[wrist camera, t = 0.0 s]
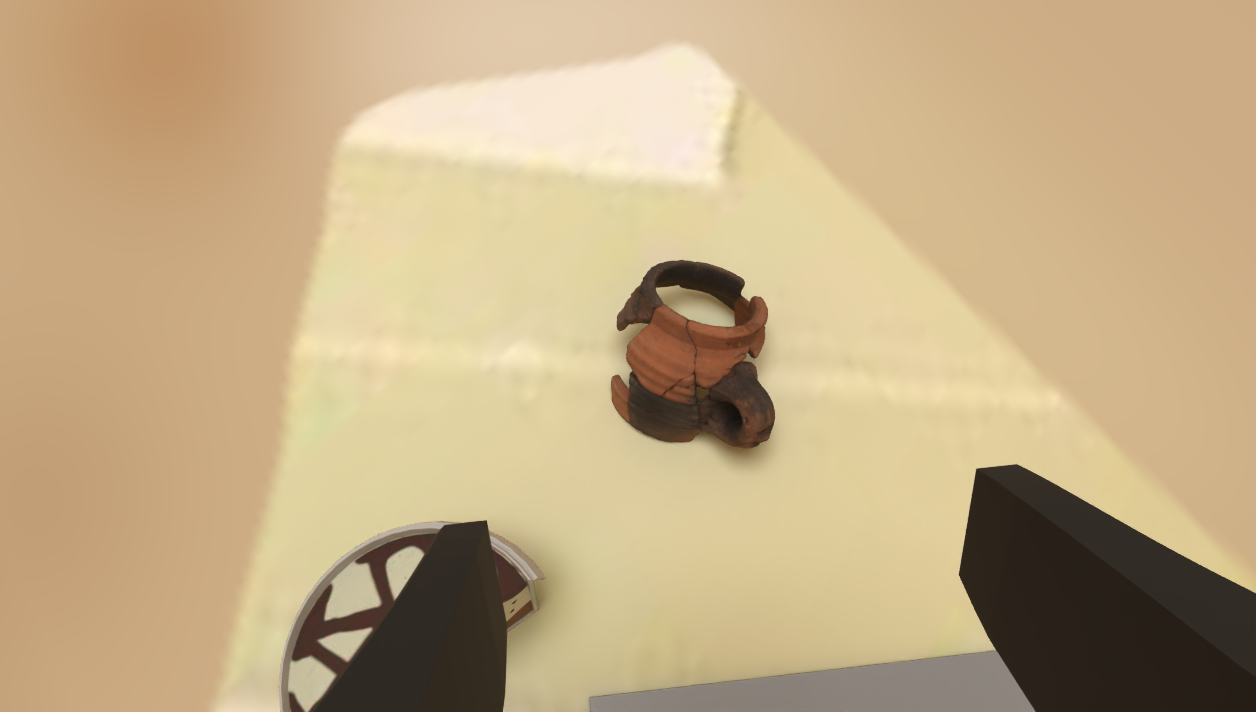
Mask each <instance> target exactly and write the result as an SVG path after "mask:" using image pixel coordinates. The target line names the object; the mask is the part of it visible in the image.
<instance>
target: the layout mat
mask: <svg viewBox="0 0 1256 712" xmlns="http://www.w3.org/2000/svg"><path fill="white" fill-rule="evenodd" d="M589 700H590V712H1035V710H1034V708H1033V707H1032V705H1031V704H1030V702H1029V701H1028V699H1027V698H1026V696H1025V695H1024V693H1023V691H1022V690H1021V688H1020V687H1019V685H1018V684H1017V682H1016V681H1015V679H1014V677H1013V676H1012V674H1011V673H1010V671H1009V669H1008V668H1007V666H1006V665H1005V663H1004V662H1003V660H1002V658H1001V657H1000V655H999V654H998V652H997V651H990V652H981V653H973V654H964V655H955V656H946V657H938V658H929V659H920V660H912V661H903V662H894V663H886V664H877V665H868V666H859V667H851V668H842V669H833V670H825V671H816V672H807V673H798V674H790V675H781V676H772V677H764V678H755V679H746V680H738V681H729V682H720V683H711V684H703V685H694V686H685V687H677V688H668V689H659V690H650V691H642V692H633V693H624V694H616V695H607V696H598V697H590V698H589Z"/></svg>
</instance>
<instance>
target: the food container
mask: <svg viewBox="0 0 1256 712" xmlns="http://www.w3.org/2000/svg"><path fill="white" fill-rule="evenodd" d="M448 524H457V522H445V521H439V522H425V523H416V524H411V525H407V526H402V527H398V528H394V529H391V530H389V531H386V532H384V533H381V534H378V535H376V536H374V537H372V538H370V539H368V540H367V541H365V542H363V543H361V544H360V545H358V546H356V547H354V548H353V549H352V550H351V551H349V552H348V553H347V554H345V555H344V556H343V557H341V558H340V559H339V560H338V561H336V562H335V563H334V565H333V566H332V567H331V568H330V569H329V570H328V571H327V572H326V573H325V574H324V575H323V576H322V577H321V578H320V579H319V581H318V582H317V583H316V585H315V586H314V587H313V589H312V590H311V591H310V593H309V594H308V595H307V597H306V599H305V600H304V602H303V604H302V606H301V608H300V609H299V611H298V613H297V615H296V617H295V619H294V622H293V624H292V627H291V629H290V632H289V635H288V637H287V640H286V644H285V648H284V653H283V657H282V661H281V668H280V679H279V698H280V712H312V711H313V709H314V708H315V707H316V706H317V705H318V703H319V702H320V701H321V700H322V698H323V697H324V696H325V695H326V693H327V692H328V691H329V690H330V688H331V687H332V686H333V684H334V683H335V682H336V680H337V679H338V678H339V677H340V675H341V674H342V673H343V671H344V670H345V669H346V667H347V666H348V665H349V664H350V662H351V661H352V660H353V658H354V657H355V656H356V654H357V653H358V652H359V651H360V649H361V648H362V647H363V645H364V644H365V642H366V641H367V640H368V638H369V637H370V635H371V634H372V633H373V631H374V630H375V628H376V627H377V625H378V624H379V622H380V621H381V620H382V618H383V617H384V615H385V614H386V612H387V611H388V609H389V608H390V607H391V605H392V604H393V602H394V601H395V599H396V598H397V596H398V595H399V593H400V592H401V590H402V589H403V587H404V586H405V584H406V582H407V581H408V579H409V578H410V576H411V575H412V573H413V572H414V570H415V568H416V567H417V565H418V564H419V562H420V560H421V559H422V557H423V556H424V554H425V552H426V551H427V549H428V547H429V546H430V544H431V543H432V541H433V539H434V538H435V536H436V534H437V533H438V531H439V530H440V529H441V528H442V527H443V526H444V525H448ZM489 535H490V540H491V545H492V550H493V555H494V561H495V566H496V571H497V576H498V581H499V586H500V591H501V596H502V601H503V606H504V611H505V617H506V622H507V633H508V632H509V631H510V630H512V629H513V628H514V627H516V626H517V625H518V624H520V623H521V622H522V621H524V620H525V619H527V618H528V617H529V616H531V615H532V614H533V613H535V612H536V611H537V610H538V605H537V600H536V595H535V589H534V584H533V581H535V580H543V579H545V578H546V576H545V575H544V574H543V573H542V571H541V570H540V569H539V568H538V566H537V565H536V564H535V563H534V561H533V560H532V559H530V558H529V557H528V556H527V555H526V554H525V553H524V552H523V551H522V550H521V549H520V548H518V547H517V546H515V545H514V544H512V543H511V542H509V541H508V540H506V539H505V538H503V537H502V536H500V535H497V534H495V533H493V532H490V531H489Z"/></svg>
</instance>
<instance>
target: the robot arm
mask: <svg viewBox="0 0 1256 712" xmlns="http://www.w3.org/2000/svg"><path fill="white" fill-rule="evenodd" d="M959 576H960V578H961V581H962V583H963V585H964V587H965V589H966V592H967V594H968V596H969V598H970V600H971V603H972V605H973V607H974V609H975V611H976V613H977V615H978V617H979V619H980V621H981V623H982V625H983V627H984V629H985V631H986V633H987V636H988V638H989V639H990V641H991V642H992V644H993V646H994V647H995V649H996V651H997V652H998V654H999V655H1000V657H1001V658H1002V660H1003V662H1004V663H1005V665H1006V666H1007V668H1008V669H1009V671H1010V673H1011V674H1012V676H1013V677H1014V679H1015V681H1016V682H1017V684H1018V685H1019V687H1020V688H1021V690H1022V691H1023V693H1024V695H1025V696H1026V698H1027V699H1028V701H1029V702H1030V704H1031V705H1032V707H1033V708H1034V710H1035V712H1256V593H1254V592H1252V591H1250V590H1248V589H1246V588H1244V587H1242V586H1240V585H1238V584H1236V583H1234V582H1232V581H1230V580H1228V579H1226V578H1224V577H1222V576H1220V575H1218V574H1217V573H1215V572H1213V571H1211V570H1209V569H1207V568H1205V567H1203V566H1201V565H1199V564H1197V563H1195V562H1193V561H1192V560H1190V559H1188V558H1186V557H1184V556H1182V555H1180V554H1178V553H1177V552H1175V551H1173V550H1171V549H1169V548H1167V547H1166V546H1164V545H1162V544H1160V543H1158V542H1156V541H1155V540H1153V539H1151V538H1149V537H1147V536H1146V535H1144V534H1142V533H1140V532H1138V531H1137V530H1135V529H1133V528H1131V527H1130V526H1128V525H1126V524H1124V523H1122V522H1121V521H1119V520H1117V519H1115V518H1114V517H1112V516H1110V515H1108V514H1107V513H1105V512H1103V511H1101V510H1100V509H1098V508H1096V507H1094V506H1093V505H1091V504H1089V503H1087V502H1086V501H1084V500H1082V499H1080V498H1079V497H1077V496H1075V495H1073V494H1072V493H1070V492H1068V491H1066V490H1064V489H1063V488H1061V487H1059V486H1057V485H1055V484H1054V483H1052V482H1050V481H1048V480H1046V479H1045V478H1043V477H1041V476H1039V475H1037V474H1035V473H1033V472H1031V471H1029V470H1027V469H1025V468H1023V467H1021V466H1019V465H1017V464H1016V465H1007V466H997V467H988V468H978V469H976V474H975V480H974V486H973V492H972V498H971V504H970V510H969V516H968V522H967V529H966V535H965V541H964V547H963V553H962V559H961V565H960V571H959ZM506 652H507V622H506V617H505V611H504V606H503V601H502V596H501V591H500V586H499V581H498V576H497V571H496V566H495V561H494V555H493V550H492V545H491V540H490V535H489V530H488V525H487V520H486V521H476V522H467V523H457V524H448V525H444V526H443V527H442V528H441V529H440V530H439V531H438V533H437V534H436V536H435V538H434V539H433V541H432V543H431V544H430V546H429V547H428V549H427V551H426V552H425V554H424V556H423V557H422V559H421V560H420V562H419V564H418V565H417V567H416V568H415V570H414V572H413V573H412V575H411V576H410V578H409V579H408V581H407V582H406V584H405V586H404V587H403V589H402V590H401V592H400V593H399V595H398V596H397V598H396V599H395V601H394V602H393V604H392V605H391V607H390V608H389V609H388V611H387V612H386V614H385V615H384V617H383V618H382V620H381V621H380V622H379V624H378V625H377V627H376V628H375V630H374V631H373V633H372V634H371V635H370V637H369V638H368V640H367V641H366V642H365V644H364V645H363V647H362V648H361V649H360V651H359V652H358V653H357V654H356V656H355V657H354V658H353V660H352V661H351V662H350V664H349V665H348V666H347V667H346V669H345V670H344V671H343V673H342V674H341V675H340V677H339V678H338V679H337V680H336V682H335V683H334V684H333V686H332V687H331V688H330V690H329V691H328V692H327V693H326V695H325V696H324V697H323V698H322V700H321V701H320V702H319V703H318V705H317V706H316V707H315V708H314V709H313V711H312V712H503V706H504V698H505V684H506Z"/></svg>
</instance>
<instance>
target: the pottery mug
mask: <svg viewBox="0 0 1256 712" xmlns="http://www.w3.org/2000/svg"><path fill="white" fill-rule="evenodd" d="M675 285H679V286H680V287H682V288H686V289H692V290H698V291H702V292H706V293H709V294H711V295H712V296H714V297H716V298H717V299H719V300H720V301H722V302H723V303H724V304H725V305H727V306H728V307H729V308H730V309H732V310H734V312H735V326H734V327H720V326H711V325H706V324H702V323H699V322H696V321H692V320H688V319H687V318H686V317H684V316H682V315H680V314H678V313H677V312H675V311H673V310H672V309H671V308H669V307H668V306H667V305H665V304H663V302H662V300H661V299H660V297H659V296H658V294H657V292H656V288H658V287H669V286H675ZM744 285H745V282H744V280H743V279H742V278H741V277H739V276H737V275H736V274H734V273H732V272H730V271H727V270H725V269H723V268H720V267H717V266H714V265H710V264H707V263H701V262H692V261H684V260H679V261H668V262H664V263H660V264H657V265H656V266H654V267H652V268H651V269H650V270H649V271H648V272H647V274H646V275H645V277H644V278H643V281H642V283H641V285H640V286H639V287H637V288H636V289H635V291H634V292H633V293H632V294H631V297H630V298H629V299H628V300H627V302H626V304H625V306H624V308H623V309H622V310H621V311H620V312H619V314H618V316H617V329H618V330H619V331H622V330H624V329H625V328H626V327H627V326H628V325H629V324H634V323H647V324H649V325H648V326H647V327H645V328H644V329H643V330H642V331H641V332H640V333H639V334H638V335H637V336H636V337H635V338H634V339H633V340H632V341H631V342H630V343H629V344H628V346H627V353H626V359H627V362H628V364H629V365H630V367H631V368H632V370H633V371H632V372H631V373H630V378H629V384H630V386H629V389H628V388H627V386H626V385H625V384H624V382H623V381H622V379H621V377H620V376H619V375H615V376H613V377H612V380H611V389H612V402H613V404H614V406H615V408H616V409H617V411H618V412H619V413H620V415H621V416H622V417H623V418H624V419H626V421H628V422H629V423H630V424H631V425H632V426H634V427H635V428H637V429H638V430H640V431H642V432H643V433H644V434H647V435H650V436H652V437H655V438H657V439H660V440H664V441H670V442H672V441H675V442H688V441H692V440H693V438H694V437H695V435H696V434H698V433H699V431H701V430H702V429H703V430H704V431H706V432H707V433H712V434H714V435H716V436H717V437H719V438H720V439H722V440H723V441H724V442H726V443H728V444H729V445H732V446H736V447H742V448H752V447H756V446H758V445H759V444H760V443H761V442H764V441H767V440H768V439H769V437H770V434H771V430H772V428H773V425H774V420H775V411H774V406H773V403H772V400H771V398H770V396H769V395H768V393H767V392H766V390H765V389H764V388H763V387H762V386H761V384H760V383H759V382H758V380H757V370H756V367H755V366H754V364H752V363H751V362H743V359H744V358H745V357H746V354H747V353H749V355H750V356H751V357H752V358H757V356H758V355H759V353H760V351H761V349H762V345H763V343H764V340H765V326H764V325H765V324H766V321H767V318H768V309H767V306H766V304H765V302H764V300H763V299H762V298H761V297H757V296H754V297H752V298H751V300H750V302H749V301H748V300H746V299H745V298H744V297H742V296H741V291H742V289H743V287H744ZM697 386H698V387H701V388H704V389H710V391H709V395H707V396H706V397H704V398H703V399H701V400H698V399H697V396H696V387H697Z"/></svg>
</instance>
